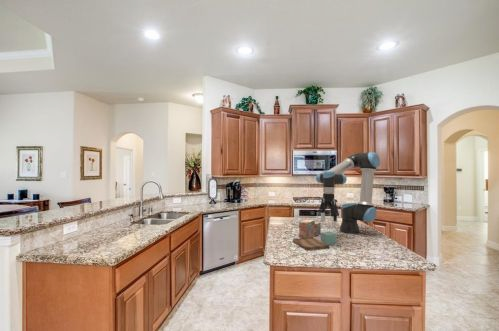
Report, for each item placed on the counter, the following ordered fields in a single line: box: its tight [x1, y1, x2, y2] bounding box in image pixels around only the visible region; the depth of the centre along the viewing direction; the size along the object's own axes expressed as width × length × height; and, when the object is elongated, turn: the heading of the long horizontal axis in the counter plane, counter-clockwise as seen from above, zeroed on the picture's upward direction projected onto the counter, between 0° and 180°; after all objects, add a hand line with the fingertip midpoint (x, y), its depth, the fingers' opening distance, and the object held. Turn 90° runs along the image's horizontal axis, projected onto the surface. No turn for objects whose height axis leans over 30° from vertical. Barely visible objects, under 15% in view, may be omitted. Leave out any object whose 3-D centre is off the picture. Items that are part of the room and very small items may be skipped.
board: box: [292, 237, 330, 251], centre depth 173 cm, size 16×20×2 cm
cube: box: [320, 231, 337, 246], centre depth 177 cm, size 7×7×7 cm
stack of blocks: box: [298, 219, 322, 239], centre depth 196 cm, size 21×6×12 cm, turn 136°
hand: (328, 223), depth 177 cm, fingers open, 13 cm apart
